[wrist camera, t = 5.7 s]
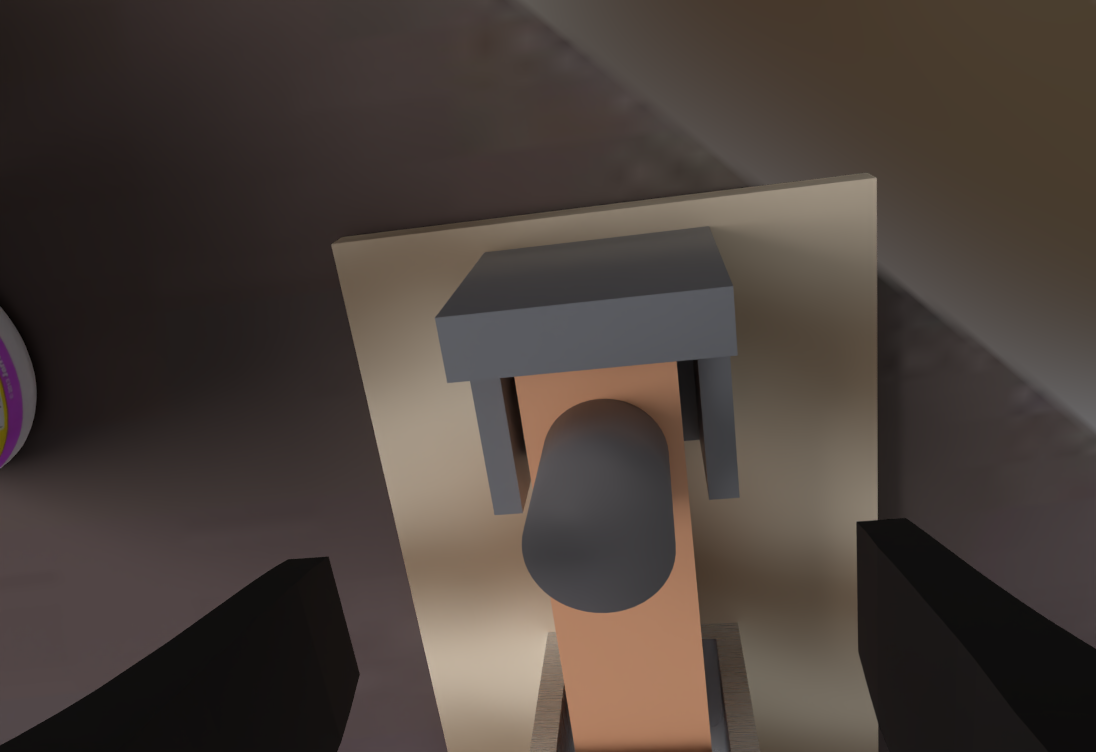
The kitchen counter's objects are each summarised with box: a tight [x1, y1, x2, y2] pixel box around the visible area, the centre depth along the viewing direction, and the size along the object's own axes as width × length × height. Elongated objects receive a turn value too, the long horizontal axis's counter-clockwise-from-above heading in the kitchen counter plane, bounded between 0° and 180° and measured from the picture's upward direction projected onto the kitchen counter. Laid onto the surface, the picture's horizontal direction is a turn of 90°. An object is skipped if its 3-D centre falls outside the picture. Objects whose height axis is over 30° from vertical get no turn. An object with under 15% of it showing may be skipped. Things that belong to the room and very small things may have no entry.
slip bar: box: [514, 361, 712, 752], centre depth 17 cm, size 12×3×6 cm, turn 8°
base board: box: [331, 173, 878, 752], centre depth 22 cm, size 19×12×1 cm, turn 8°
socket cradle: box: [435, 226, 740, 515], centre depth 17 cm, size 5×5×5 cm
